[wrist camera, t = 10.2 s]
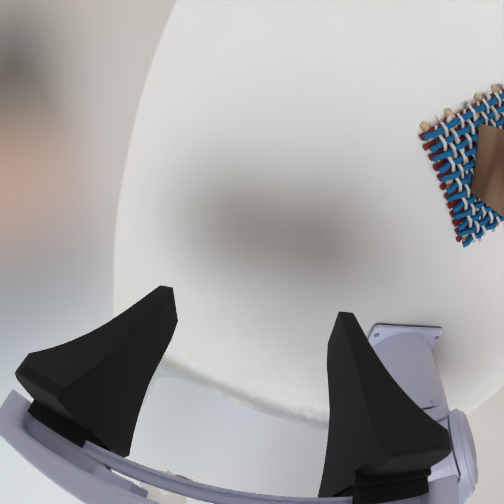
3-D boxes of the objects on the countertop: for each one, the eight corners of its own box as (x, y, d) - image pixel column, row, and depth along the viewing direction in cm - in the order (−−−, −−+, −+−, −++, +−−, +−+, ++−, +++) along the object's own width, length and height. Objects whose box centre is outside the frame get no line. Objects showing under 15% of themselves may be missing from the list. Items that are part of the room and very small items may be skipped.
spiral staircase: (184, 465, 75) (179, 476, 87) (136, 466, 68) (139, 477, 80) (195, 508, 60) (188, 511, 72) (144, 511, 53) (147, 513, 65)
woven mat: (531, 189, 14) (544, 197, 12) (454, 243, 18) (464, 255, 17) (499, 77, 11) (514, 78, 9) (408, 125, 15) (420, 128, 13)
